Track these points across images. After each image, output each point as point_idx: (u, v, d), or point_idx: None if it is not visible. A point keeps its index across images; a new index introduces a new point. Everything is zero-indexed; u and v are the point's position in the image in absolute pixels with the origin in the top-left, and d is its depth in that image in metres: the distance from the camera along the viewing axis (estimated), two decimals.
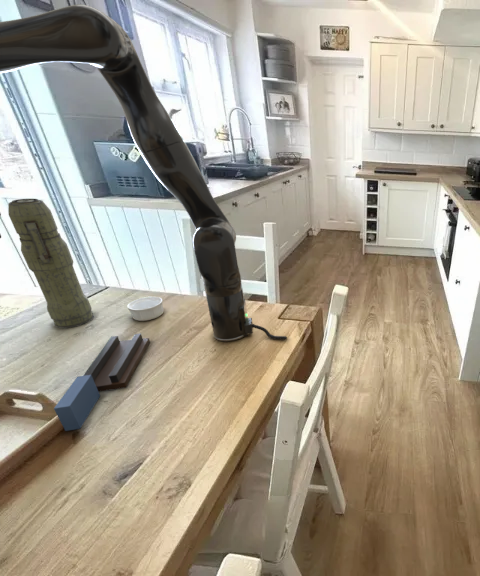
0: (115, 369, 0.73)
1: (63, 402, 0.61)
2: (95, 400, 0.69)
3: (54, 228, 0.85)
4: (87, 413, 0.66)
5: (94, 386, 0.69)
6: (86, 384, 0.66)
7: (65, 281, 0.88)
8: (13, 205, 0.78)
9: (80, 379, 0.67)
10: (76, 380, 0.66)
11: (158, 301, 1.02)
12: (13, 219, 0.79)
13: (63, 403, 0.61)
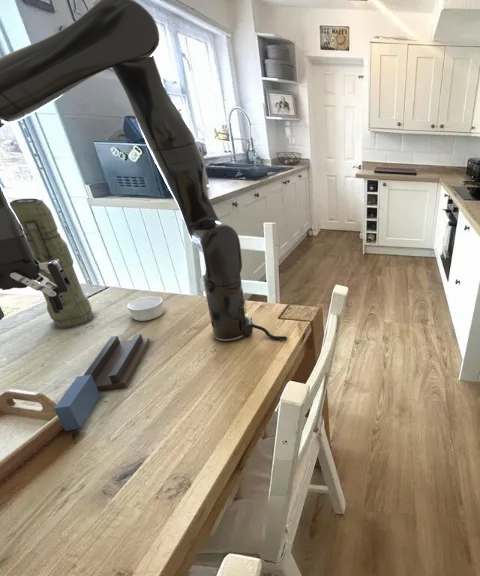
0: (115, 369, 0.73)
1: (63, 402, 0.61)
2: (95, 400, 0.69)
3: (54, 228, 0.84)
4: (87, 413, 0.66)
5: (94, 386, 0.69)
6: (86, 384, 0.66)
7: None
8: (13, 205, 0.78)
9: (80, 379, 0.67)
10: (76, 380, 0.66)
11: (158, 301, 1.02)
12: None
13: (63, 403, 0.61)
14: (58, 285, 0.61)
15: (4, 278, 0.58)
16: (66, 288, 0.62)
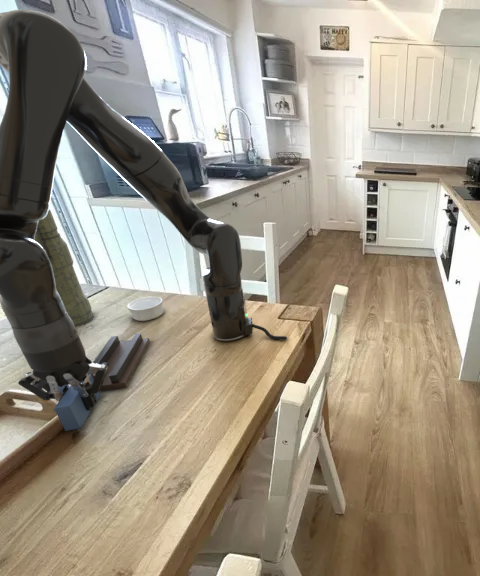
0: (115, 369, 0.73)
1: (63, 402, 0.61)
2: None
3: (54, 228, 0.84)
4: (87, 413, 0.66)
5: None
6: None
7: (65, 281, 0.88)
8: None
9: None
10: None
11: (158, 301, 1.02)
12: None
13: (63, 403, 0.61)
14: (93, 387, 0.64)
15: (59, 375, 0.61)
16: (97, 391, 0.64)
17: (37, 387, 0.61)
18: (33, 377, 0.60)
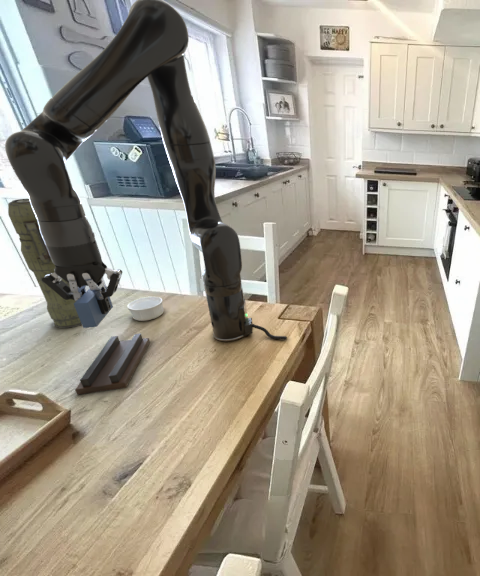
0: (115, 369, 0.73)
1: (82, 300, 0.68)
2: None
3: None
4: (102, 316, 0.72)
5: None
6: None
7: (65, 281, 0.88)
8: (13, 205, 0.78)
9: None
10: None
11: (158, 301, 1.02)
12: (13, 219, 0.79)
13: (82, 300, 0.68)
14: (108, 290, 0.70)
15: (78, 275, 0.68)
16: (111, 294, 0.71)
17: (58, 286, 0.67)
18: (55, 275, 0.67)
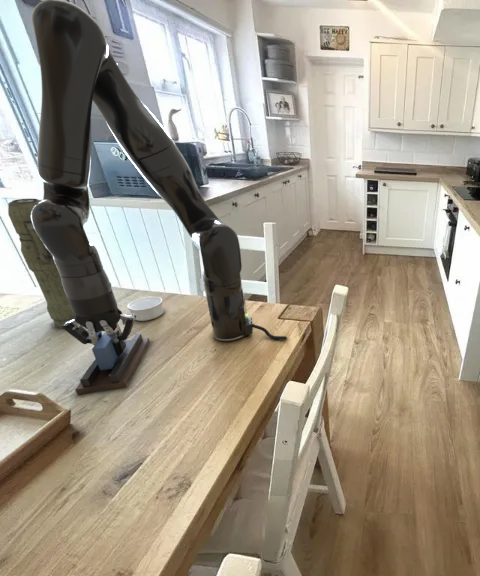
0: (115, 369, 0.73)
1: (99, 345, 0.73)
2: None
3: None
4: (117, 358, 0.78)
5: None
6: None
7: None
8: (13, 205, 0.78)
9: None
10: None
11: (158, 301, 1.02)
12: (13, 219, 0.79)
13: (99, 345, 0.73)
14: (123, 334, 0.76)
15: (96, 322, 0.73)
16: (126, 338, 0.76)
17: (77, 332, 0.73)
18: (74, 323, 0.72)
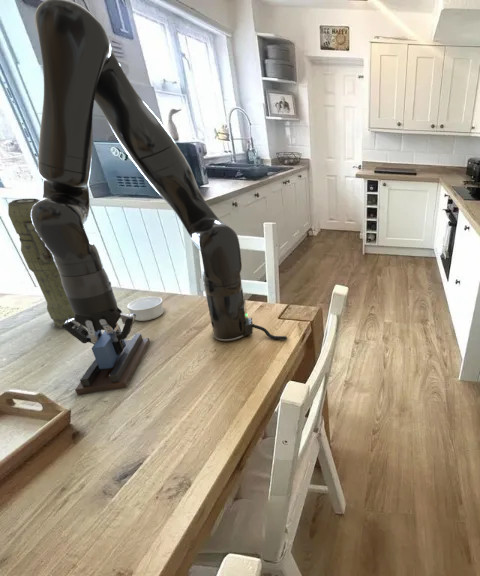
0: (115, 369, 0.73)
1: (99, 344, 0.73)
2: None
3: None
4: (117, 357, 0.77)
5: None
6: None
7: None
8: (13, 205, 0.78)
9: None
10: None
11: (158, 301, 1.02)
12: (13, 219, 0.79)
13: (99, 344, 0.73)
14: (122, 333, 0.75)
15: (95, 321, 0.73)
16: (126, 337, 0.76)
17: (77, 331, 0.72)
18: (74, 322, 0.72)
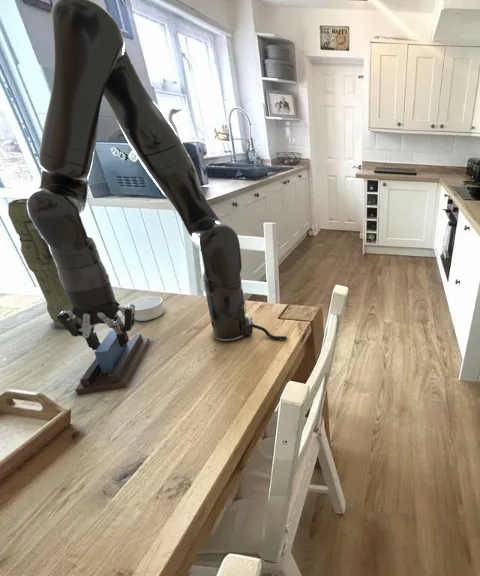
0: (115, 369, 0.73)
1: (101, 348, 0.74)
2: None
3: None
4: None
5: None
6: None
7: None
8: (13, 205, 0.78)
9: (113, 332, 0.79)
10: (110, 333, 0.79)
11: (158, 301, 1.02)
12: (13, 219, 0.79)
13: (101, 349, 0.73)
14: (125, 325, 0.75)
15: (93, 315, 0.72)
16: (130, 328, 0.76)
17: (71, 323, 0.71)
18: (70, 314, 0.71)
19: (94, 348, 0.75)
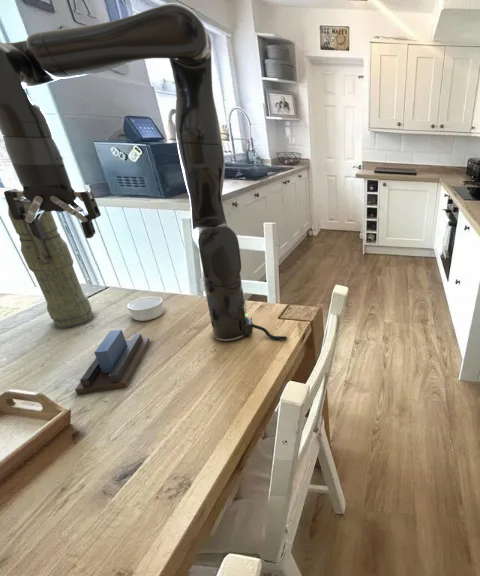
0: (115, 369, 0.73)
1: (101, 348, 0.74)
2: None
3: (54, 228, 0.84)
4: None
5: (124, 340, 0.81)
6: (118, 337, 0.79)
7: (65, 281, 0.88)
8: None
9: (113, 332, 0.79)
10: (110, 333, 0.79)
11: (158, 301, 1.02)
12: (13, 219, 0.79)
13: (101, 349, 0.73)
14: (88, 212, 0.71)
15: (46, 201, 0.68)
16: (95, 215, 0.72)
17: (16, 204, 0.67)
18: (20, 194, 0.67)
19: (39, 236, 0.70)
